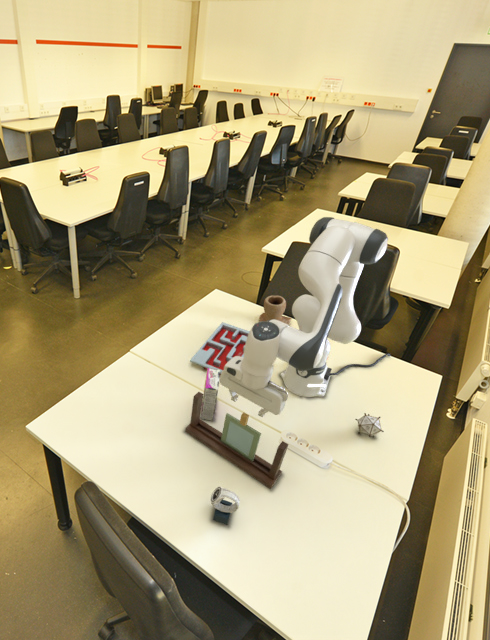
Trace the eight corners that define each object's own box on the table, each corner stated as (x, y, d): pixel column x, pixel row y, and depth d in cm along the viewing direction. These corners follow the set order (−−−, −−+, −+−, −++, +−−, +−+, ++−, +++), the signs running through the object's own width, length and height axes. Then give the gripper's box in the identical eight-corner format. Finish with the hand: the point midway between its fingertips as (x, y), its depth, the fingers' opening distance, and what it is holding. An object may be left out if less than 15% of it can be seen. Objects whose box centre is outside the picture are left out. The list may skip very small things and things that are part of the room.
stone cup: (256, 325, 197) (261, 299, 188) (261, 314, 206) (267, 289, 197) (286, 333, 192) (293, 307, 183) (290, 321, 201) (298, 296, 192)
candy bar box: (202, 398, 155) (207, 367, 145) (215, 400, 154) (220, 369, 144) (200, 419, 146) (204, 387, 136) (213, 421, 145) (218, 389, 136)
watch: (210, 501, 119) (215, 480, 113) (236, 510, 117) (242, 489, 111) (206, 517, 115) (210, 497, 109) (233, 527, 113) (239, 507, 107)
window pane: (222, 440, 136) (229, 403, 125) (253, 460, 129) (264, 424, 119) (219, 442, 135) (227, 406, 124) (251, 463, 128) (262, 426, 118)
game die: (364, 436, 146) (387, 420, 142) (370, 448, 138) (394, 430, 134) (346, 420, 146) (368, 403, 143) (350, 430, 138) (373, 412, 135)
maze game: (221, 327, 195) (222, 322, 193) (259, 340, 187) (260, 335, 185) (189, 365, 171) (190, 360, 169) (231, 382, 163) (232, 376, 161)
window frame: (196, 420, 145) (201, 387, 135) (280, 474, 128) (293, 441, 118) (185, 431, 141) (188, 398, 131) (270, 489, 123) (282, 455, 113)
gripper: (294, 385, 108) (283, 419, 116) (231, 353, 118) (225, 386, 127) (284, 397, 104) (273, 431, 112) (219, 363, 115) (214, 396, 123)
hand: (247, 407), depth 119 cm, fingers open, 8 cm apart
